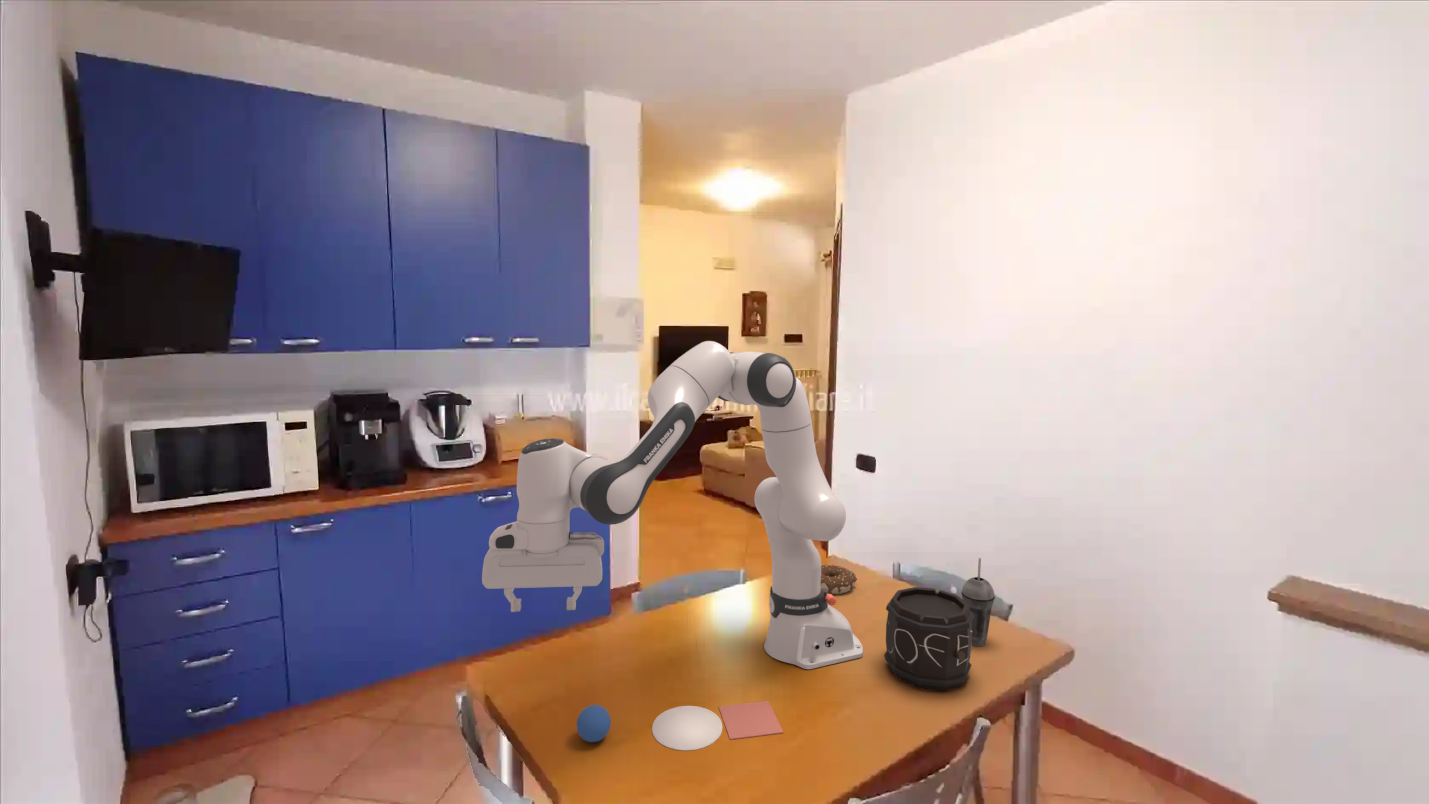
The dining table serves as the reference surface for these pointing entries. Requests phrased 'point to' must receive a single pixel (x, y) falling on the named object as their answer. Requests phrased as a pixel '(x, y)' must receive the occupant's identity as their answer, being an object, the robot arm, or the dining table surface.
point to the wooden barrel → (929, 638)
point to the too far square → (750, 720)
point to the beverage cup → (979, 606)
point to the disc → (687, 728)
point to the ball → (593, 723)
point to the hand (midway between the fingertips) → (543, 609)
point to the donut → (837, 579)
